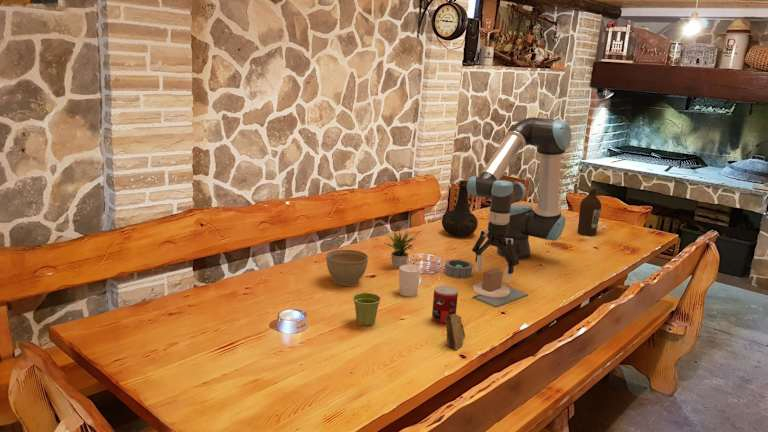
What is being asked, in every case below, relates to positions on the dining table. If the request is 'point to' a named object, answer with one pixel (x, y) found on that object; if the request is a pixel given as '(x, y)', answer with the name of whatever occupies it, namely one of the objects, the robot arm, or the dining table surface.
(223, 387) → the dining table surface
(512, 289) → the mat
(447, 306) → the canned food
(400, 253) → the house plant
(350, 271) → the planter bowl
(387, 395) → the dining table surface
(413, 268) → the white cup
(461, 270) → the bowl
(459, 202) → the black vase
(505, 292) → the lid
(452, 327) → the rock
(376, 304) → the plant pot
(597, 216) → the olive oil
